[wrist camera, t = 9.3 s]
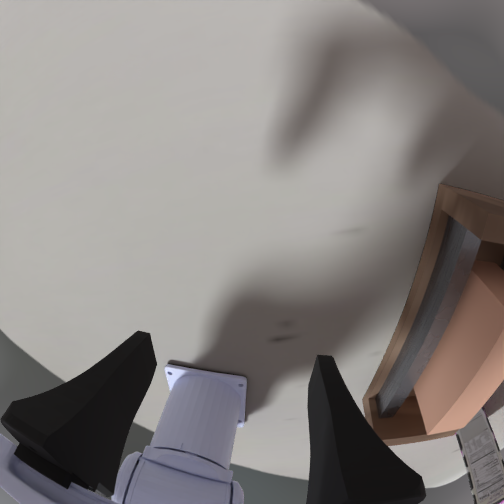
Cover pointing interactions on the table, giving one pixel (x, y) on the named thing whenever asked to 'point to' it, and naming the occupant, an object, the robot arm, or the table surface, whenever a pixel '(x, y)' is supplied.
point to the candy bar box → (482, 460)
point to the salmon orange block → (466, 355)
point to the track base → (432, 308)
